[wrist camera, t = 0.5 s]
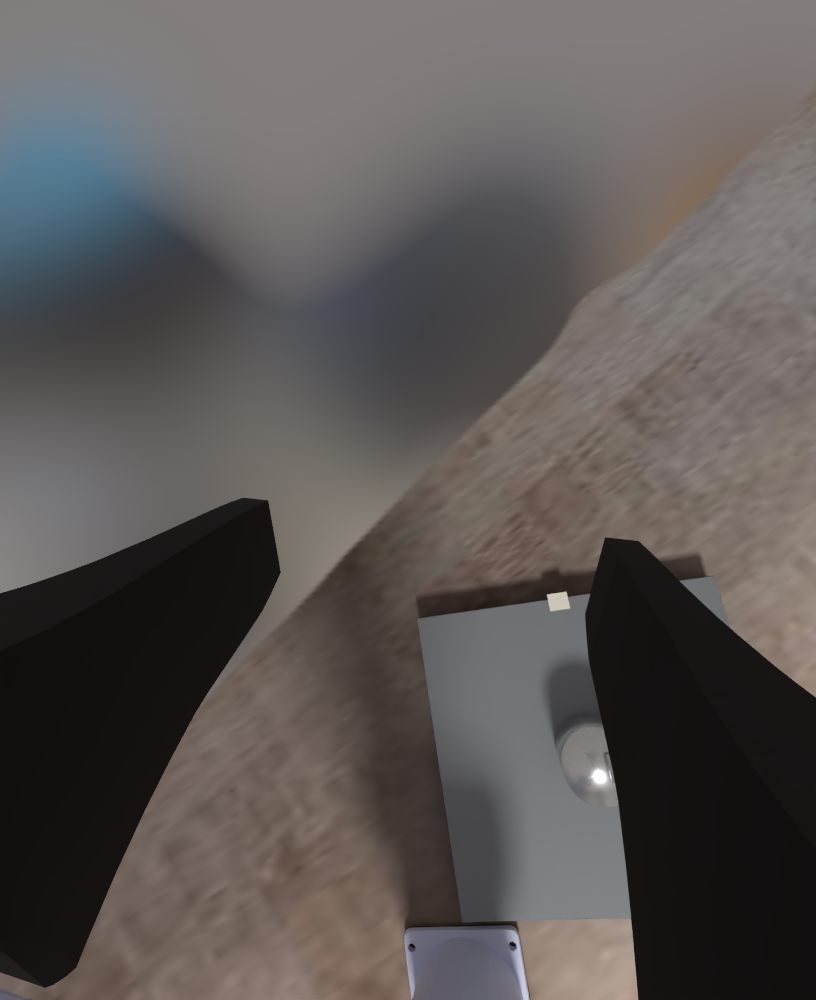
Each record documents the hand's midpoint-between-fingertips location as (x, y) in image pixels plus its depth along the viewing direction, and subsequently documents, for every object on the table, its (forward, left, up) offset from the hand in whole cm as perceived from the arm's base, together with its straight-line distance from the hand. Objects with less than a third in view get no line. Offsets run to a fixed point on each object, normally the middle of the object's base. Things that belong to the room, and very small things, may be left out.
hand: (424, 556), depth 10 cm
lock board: (-12, -5, -27) cm, 30 cm away
